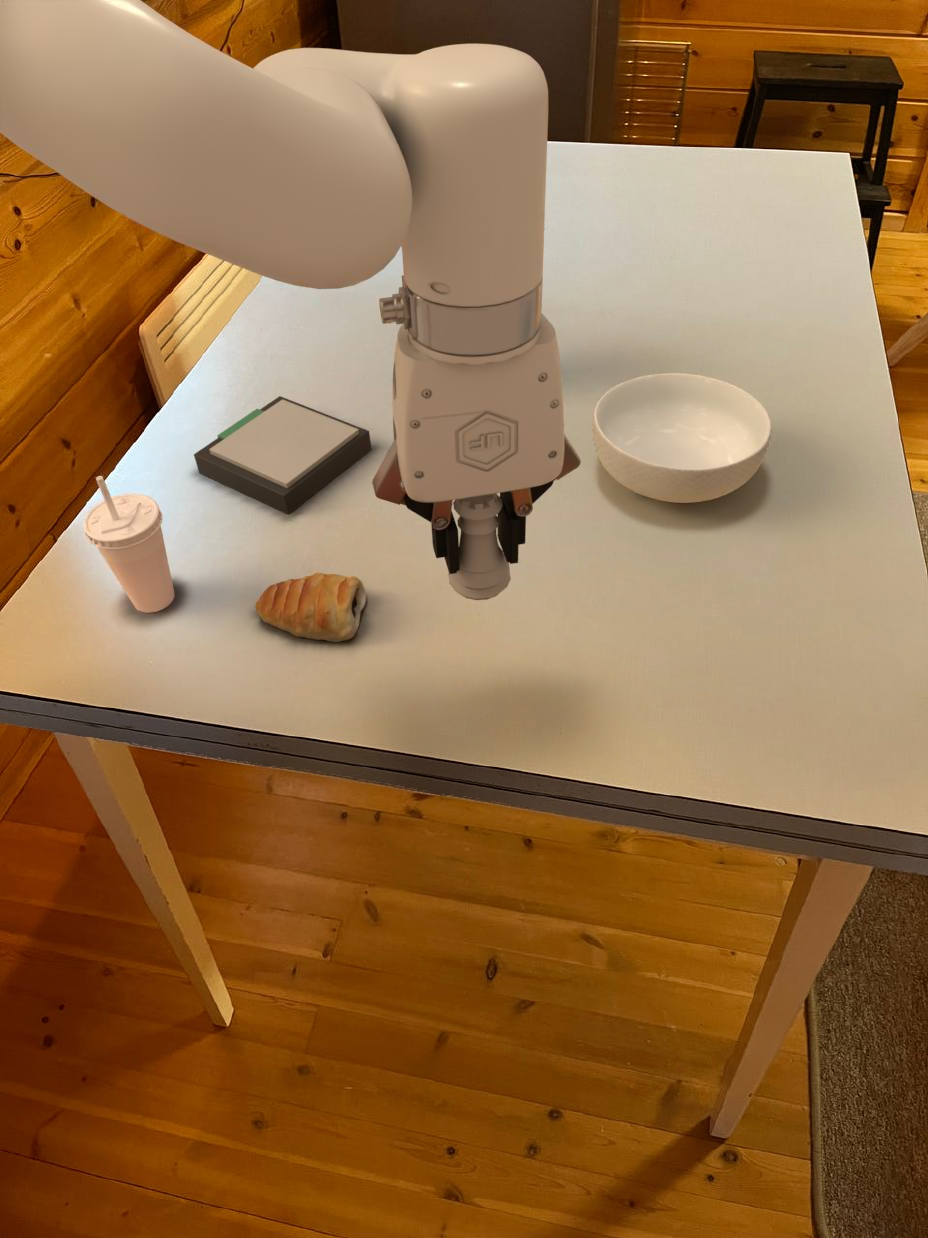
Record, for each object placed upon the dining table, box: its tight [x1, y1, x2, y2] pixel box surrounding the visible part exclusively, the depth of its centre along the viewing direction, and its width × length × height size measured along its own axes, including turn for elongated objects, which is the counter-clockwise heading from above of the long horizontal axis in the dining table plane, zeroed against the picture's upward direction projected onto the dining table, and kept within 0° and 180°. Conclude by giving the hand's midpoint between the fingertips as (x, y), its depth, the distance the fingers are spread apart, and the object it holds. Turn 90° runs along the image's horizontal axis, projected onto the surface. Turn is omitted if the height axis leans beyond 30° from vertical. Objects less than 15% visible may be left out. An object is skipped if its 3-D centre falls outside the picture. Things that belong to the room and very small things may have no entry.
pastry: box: [254, 572, 367, 643], centre depth 81 cm, size 9×7×4 cm
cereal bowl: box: [592, 372, 773, 504], centre depth 91 cm, size 17×17×7 cm
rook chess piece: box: [448, 493, 512, 601], centre depth 63 cm, size 4×4×8 cm
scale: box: [193, 395, 372, 515], centre depth 98 cm, size 13×13×3 cm
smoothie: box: [82, 475, 176, 614], centre depth 80 cm, size 6×6×14 cm
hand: (479, 553), depth 64 cm, fingers closed on rook chess piece, 3 cm apart
